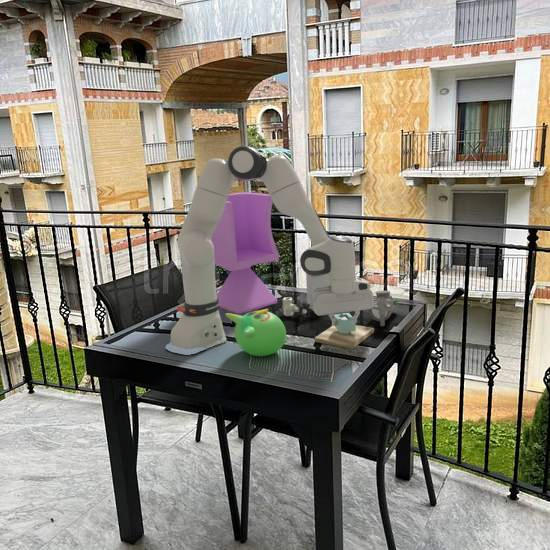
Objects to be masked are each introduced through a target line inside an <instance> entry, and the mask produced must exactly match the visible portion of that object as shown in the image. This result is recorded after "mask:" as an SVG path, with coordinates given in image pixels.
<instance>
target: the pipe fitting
mask: <svg viewBox="0 0 550 550" xmlns="http://www.w3.org/2000/svg"><path fill="white" fill-rule="evenodd" d="M375 295H376V299H375V300H374V301H377V300H378V298H381V297H383V298H392V299H395V298H393V296H392V295H391V291H390V290H378V291H375ZM395 301H397V300H396V299H395ZM387 303H388V302H387ZM388 305H389V303H388ZM374 306H378V305H374ZM398 308H399V303H398V302H397V305H395V308H394V309H392V310H391V311H386V314H385V321H386V320H388V319H389V318H390V317H391V315H393V314H395V312H397V310H398ZM368 311H369V312H368V314H369V315H370V317H371V318H372V319H373V320H375V321H376V322H380V314H379V310H376V309H368Z"/></svg>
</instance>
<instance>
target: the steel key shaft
mask: <svg viewBox="0 0 550 550" xmlns="http://www.w3.org/2000/svg"><path fill="white" fill-rule="evenodd" d="M340 318H341V320H348V319H347V318H346V317H340ZM342 334H343V335H349V332H345V333H342Z"/></svg>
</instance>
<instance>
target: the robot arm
mask: <svg viewBox="0 0 550 550" xmlns="http://www.w3.org/2000/svg"><path fill="white" fill-rule="evenodd" d="M255 180H260V181H262V182H263V183H264V186H265V188H266V189H267V192H268V194H270V197H271V199H272V201H273V203H272V204H273V205H274V206H275V208H276V210H277V211H278V212H279V213H280V214H282V215H285V216H288V217H292V218H294V219H296V220H297V221H299V222H300V224H301V225H302V227H303V229H304V231H305V232H306V234H307V236H308V238H309V240H310V241H311V245H312V246H310V247H308V248H307V249H305V250H304V251H303V252H302V254H301V255H300V257H299V258H300V259H299V263H300V266H301V269H302V270H303V272H304V273H305V274H306V273H307V274H309V275H311V276H317V275H324V274H328V275H329V285H330V286H328V287H322V288H317V289H316V290H317V291H316V290H314V291H313V300H314V311H313V312H314V314H316V315H317V316H327V315H328V317H329V319H330V320H331V326H336V325H337V320H336V319H334V315H335V314H340V313H351V312H354V315H353V316H352V317H353V318H354V319H355V324H357V323H358V317H359V316H360V313H361V311H365V310H369V309H372V308H373V306H374V299H375V298H374V294H373V293H374V292H373V291H372V290H371V287H372V286H371V283H370V282H369V281H368V280H367V279H365V278H363V277H357V274H356V271H355V267H356V253H355V246H354V242H353V240H352V239H351V238H349V237H347V236H344V235H333V236H330V235H329V233H328V231H327V229H326V227H325V225H324V224H323V222H322V220H321V218H320V216H319V214H318V212H317V210H316V209H315V207H314V205H313V204H312V202H311V201H310V199H309V197H308V195H307V193H306V191H305V189H304V187H303V184H302V182H301V180H300V177H299V175H298V174H297V172H296V170H295V169H294V166H293V165H292V164H291V162H290V161H289V159H288V158H287V157H286V156H284V155H274V156H271V157H266V156H264V154H262V153H261V152H260V151H259V150H258V149H257V148H255V147H252V146H249V145H240V146H238V147H237V146H236V147H235V148H234V149H232V151H231V152H230V154H229V155H228V159H223V158H216V157H215V158H211V159H209V160H208V161H207V162H206V164H205V165H204V167H203V169H202V172H201V173H200V176H199V179H198V182H197V184H196V187H195V190H194V192H193V198H192V200H191V203H190V206H189V209H188V212H187V214H186V216H185V219H184V222H183V224H182V226H181V229H180V232H179V234H178V237H177V241H176V242H177V243H176V244H177V245H176V246H177V248H178V250H179V254H180V257H181V258H180V260H181V270H182V271H181V272H182V283H183V284H182V285H183V292H184V300H185V301H184V302H183V306H181V305H178V306H177V308H176V311H177V312H179V313H182V315H181V316H180V318H179V320H178V321H177V322H176V323H175V325H174V326H173V327H172V329H171V332H170V342H171V345H173V346H176V347H179V348H184V349H194V348H198V347H199V348H201V347H203V348H207V347H210V346H213V345H217V344H220V345H222V344H224V342H225V343H227V342H228V341H227V337H226V336H227V334H226V332H225V330H224V326H223V322H222V318H221V314H220V308H219V300H218V298H217V293H218V292H217V285H216V273H215V272H216V265H215V258H214V245H213V243H212V241H211V239H212V236H213V234H214V231H215V229H216V227H217V225H218V223H219V221H220V220H221V218H222V215H223V211H224V208H225V205H226V202H227V199H228V197H227V196H229V194H231V193H230V192H231V190H232V189H231V188H232V187H233V185H234V184H235V182H237V181H238V182H241V181H243V182H251V181H252V182H253V181H255ZM226 341H227V342H226ZM221 343H222V344H221ZM217 346H218V345H217Z"/></svg>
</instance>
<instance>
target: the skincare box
mask: <svg viewBox="0 0 550 550" xmlns="http://www.w3.org/2000/svg"><path fill="white" fill-rule="evenodd" d="M305 276H306V278H305V279H306V301H307V303H306V305H307V304H310V307H309V308H311V309H312V311H313V312H314V300H313V291H314V290H316V289H317V288H322V287H328V286H330V285H329V275H328V274H324V275H317V276H311V275H309V274H307V273H305ZM316 291H317V290H316ZM312 311H311V312H312Z"/></svg>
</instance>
